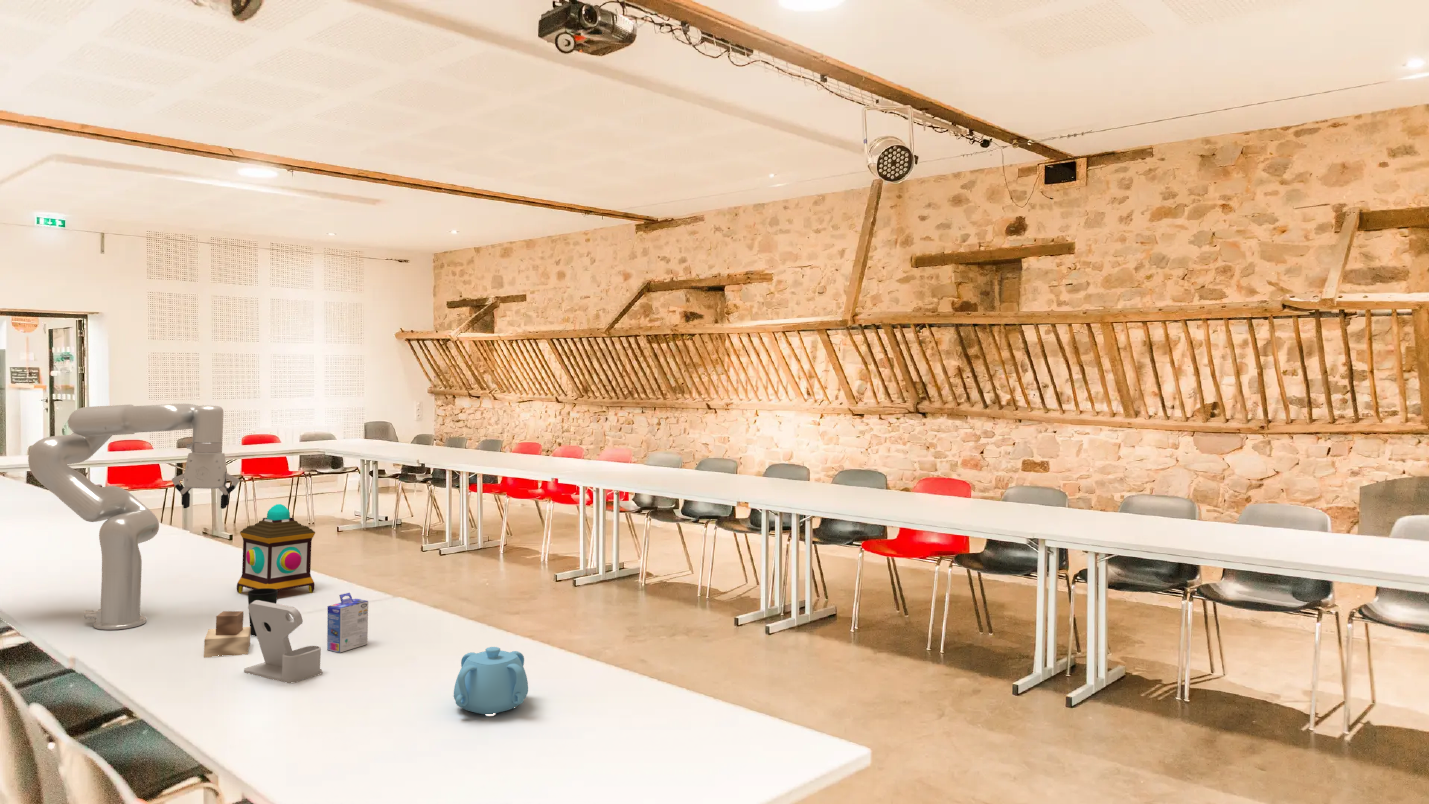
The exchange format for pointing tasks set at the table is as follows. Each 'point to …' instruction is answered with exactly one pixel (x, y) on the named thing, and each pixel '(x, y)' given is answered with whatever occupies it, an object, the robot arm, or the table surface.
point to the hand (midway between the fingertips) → (205, 507)
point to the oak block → (227, 643)
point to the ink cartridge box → (347, 624)
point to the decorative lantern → (276, 553)
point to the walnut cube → (229, 623)
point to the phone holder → (281, 644)
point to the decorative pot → (491, 681)
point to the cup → (262, 595)
